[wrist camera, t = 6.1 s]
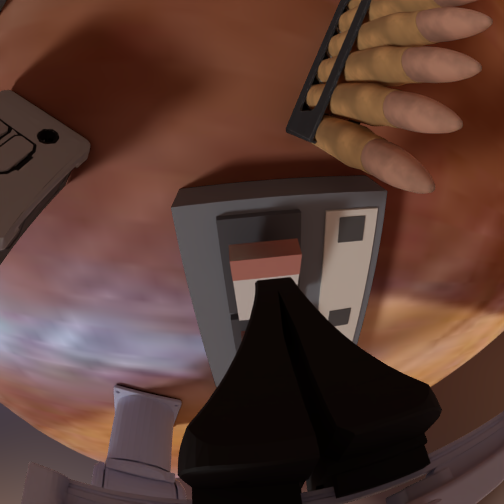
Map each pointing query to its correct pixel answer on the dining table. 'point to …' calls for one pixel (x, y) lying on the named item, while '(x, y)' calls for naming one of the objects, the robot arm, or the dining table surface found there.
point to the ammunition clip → (384, 82)
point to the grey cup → (2, 4)
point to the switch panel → (280, 228)
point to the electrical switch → (31, 164)
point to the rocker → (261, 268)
